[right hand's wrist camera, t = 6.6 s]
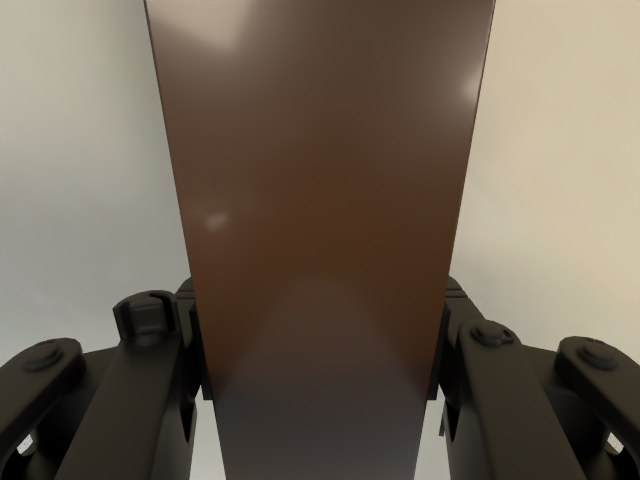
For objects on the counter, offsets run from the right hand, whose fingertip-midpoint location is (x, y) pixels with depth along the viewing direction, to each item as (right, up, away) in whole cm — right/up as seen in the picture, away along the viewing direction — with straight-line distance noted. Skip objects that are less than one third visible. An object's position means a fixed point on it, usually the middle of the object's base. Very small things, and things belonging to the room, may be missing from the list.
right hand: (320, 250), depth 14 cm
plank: (0, +14, -7) cm, 15 cm away
